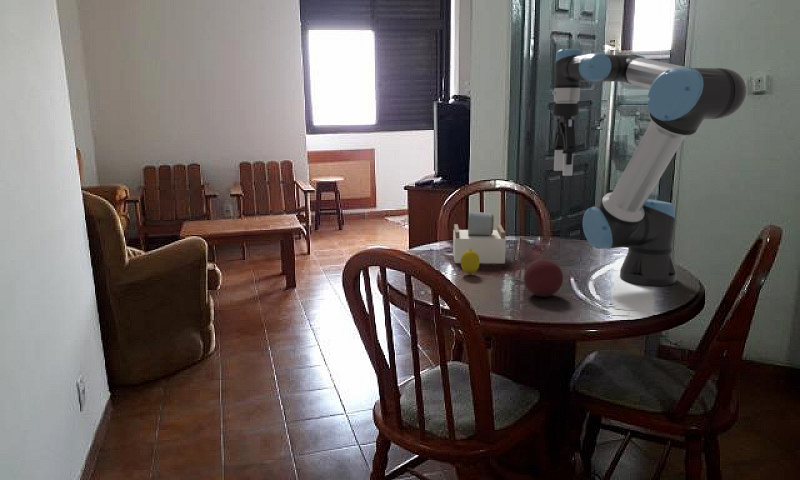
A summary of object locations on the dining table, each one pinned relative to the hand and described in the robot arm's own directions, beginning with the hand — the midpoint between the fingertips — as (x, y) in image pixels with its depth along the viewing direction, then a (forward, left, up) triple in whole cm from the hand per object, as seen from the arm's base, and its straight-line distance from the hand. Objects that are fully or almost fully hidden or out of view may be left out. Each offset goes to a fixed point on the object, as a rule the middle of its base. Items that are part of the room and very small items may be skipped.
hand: (562, 173), depth 194 cm
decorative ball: (-35, +11, -29) cm, 47 cm away
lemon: (-15, +29, -29) cm, 44 cm away
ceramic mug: (+6, +25, -21) cm, 33 cm away
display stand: (+6, +25, -29) cm, 39 cm away
